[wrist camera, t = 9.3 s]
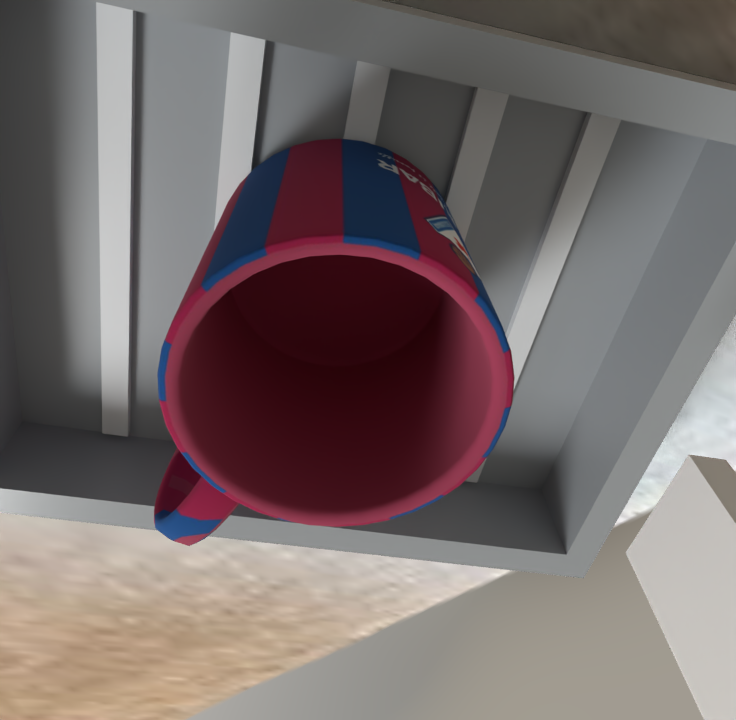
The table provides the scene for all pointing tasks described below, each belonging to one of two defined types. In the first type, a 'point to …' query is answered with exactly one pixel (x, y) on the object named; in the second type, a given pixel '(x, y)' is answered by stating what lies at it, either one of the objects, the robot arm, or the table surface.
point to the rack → (441, 166)
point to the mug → (329, 350)
